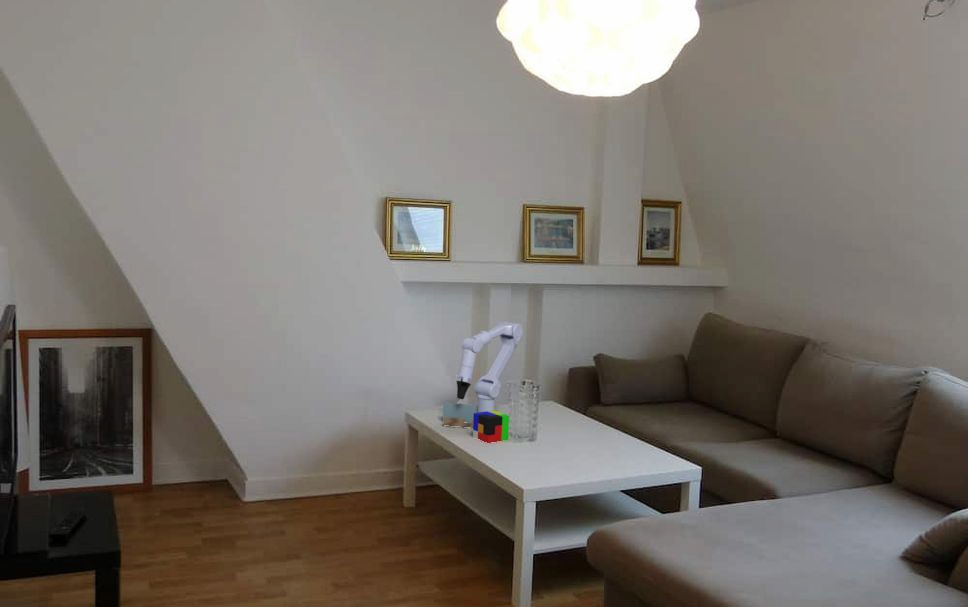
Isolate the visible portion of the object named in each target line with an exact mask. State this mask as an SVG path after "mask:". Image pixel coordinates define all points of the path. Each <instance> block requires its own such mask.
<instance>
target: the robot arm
mask: <svg viewBox="0 0 968 607" xmlns="http://www.w3.org/2000/svg"><path fill="white" fill-rule="evenodd" d="M523 335H524V329H523V326H522V325H521V323H517V322H516V323H515V322H510V321H505V320H503V321H500V322H498V323H497V325H496V326H494V327H493V328H491V329H490V330H488V331H486V330H480V332H479V333H477V334H476V335H473V336H472V337H466V338H464V340H463V342H461V349H462V350H461V351H462V352H461V354H462V356H461V361H460V365H459V370H458V375H457V374H455V375H454V377H456V378H457V379H458V378H459V379H460V380H456V388H457V390H456V391H457V392H456V393H457V394H456V398H457V399H460V400H464V399H465V396H466V394H467V392H468V389H469V388H470V386H472V384H471V383H470V382H468V380H469V381H473V373H474V368H475V364H476V359H477V355H478V353H480V352H481V350H482V349H483V348H484V347H485V346H487V345H489V344H490V343H491V342H492V339H495V338H498V337H499V338H500V341H501V342H502V343H503V344H502V348H501V349H500V351H499V352H498V354H497V356H496V358H495V360H494V362H493V363H492V366H491V367H490V369H489V370H488V373H487V374H485V375H482V376H481V377H480V378H479V380H478V381H477V382H476V383H475V385H474V387H473V388H474V393H475V394H476V397H477V413H479V412H486V411H493V410H494V411H496V399H497V397H498V396H499V393H500V390H501V387H502V383H501V381H500V379H501V376H503V372H504V371H505V369H506V367H507V366H508V364H509V362H510V360H511V358H512V357H513V354H514V352H515V351H516V349H517V346H518V344H519V342H520V340H521V338H522V337H523Z"/></svg>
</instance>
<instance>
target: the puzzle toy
mask: <svg viewBox="0 0 968 607" xmlns="http://www.w3.org/2000/svg"><path fill="white" fill-rule="evenodd" d="M509 429H510V415H508V414H506V413H504V412H503V413H502V412H499V411H497V410H495V411H494V410H493V411H486V412H479V413H478V412H477V413H474V415H473V429H472V438H473V437H475V438H478V439H480V440H482V441H484V442H487V443H490V444H492V443H491V442H496V443H498V442H497V441H502V442H504V441H503V440H508V441H509V435H510V434H509V431H510V430H509ZM482 441H481V442H482ZM484 442H483V443H484ZM487 443H486V444H487Z"/></svg>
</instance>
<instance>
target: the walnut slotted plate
mask: <svg viewBox="0 0 968 607" xmlns="http://www.w3.org/2000/svg"><path fill="white" fill-rule="evenodd" d="M444 425H449V426H460V427H471V428H473V419H472V423H464V419H462V418H450V417H444V422H443V426H444Z"/></svg>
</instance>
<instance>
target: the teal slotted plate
mask: <svg viewBox="0 0 968 607" xmlns="http://www.w3.org/2000/svg"><path fill="white" fill-rule="evenodd" d="M442 404H443V405H442V422H443V421H444V417H450V418H462V419H464V422H467V423H472V419H473V415H474V413H478V404H471V403H470V404H468V403H467V404H466V403H455V402H443V403H442Z"/></svg>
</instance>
